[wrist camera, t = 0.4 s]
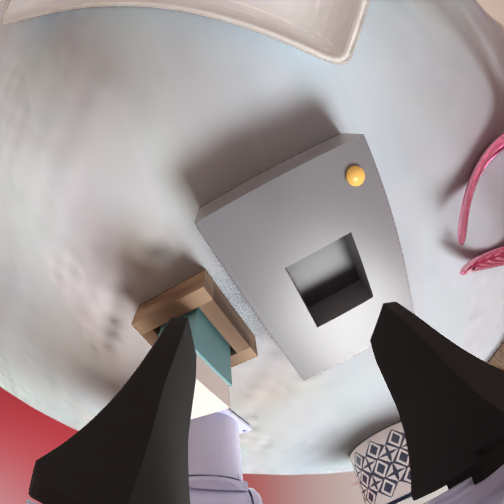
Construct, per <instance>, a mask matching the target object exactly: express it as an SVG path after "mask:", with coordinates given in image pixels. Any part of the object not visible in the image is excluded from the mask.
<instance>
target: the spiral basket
mask: <svg viewBox="0 0 504 504" xmlns="http://www.w3.org/2000/svg"><path fill="white" fill-rule="evenodd" d="M503 150H504V133H503V134H501V135H500V136H499V137H498V138H496V139H495V140H494V141H493V142H492V143H491V144H490V145H489V146H488V148H487V149H486V150H485V151H484V153H483V154H482V156H481V157H480V159H479V160H478V162H477V164H476V166H475V167H474V169H473V172H472V174H471V176H470V178H469V181H468V184H467V187H466V190H465V193H464V197H463V200H462V205H461V210H460V216H459V223H458V242H459V244H460V245H463V244H464V242H465V238H466V233H467V225H468V217H469V211H470V206H471V202H472V198H473V195H474V192H475V189H476V186H477V184H478V182H479V179H480V177H481V176H482V174H483V172H484V171H485V169H486V168H487V166H488V165H489V164H490V162H491V161H492V160H493V159H494V158H495V157H496V156H497V155H498V154H500V153H501V152H502V151H503ZM502 265H504V246H502V247H499V248H496V249H493V250H490V251H488V252H485V253H483V254H481V255H479V256H477V257H475V258H473V259H472V260H470V261H469V262H467V263H466V264H465V265H464V266H463V267H462V268H461V270H460V275H467V274H470V273H473V272H477V271H481V270H485V269H489V268H493V267H498V266H502Z"/></svg>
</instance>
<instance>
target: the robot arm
mask: <svg viewBox="0 0 504 504" xmlns="http://www.w3.org/2000/svg"><path fill="white" fill-rule="evenodd" d="M370 342H371V346H372V349H373V352H374V355H375V359H376V362H377V364H378V366H379V369H380V371H381V373H382V375H383V377H384V380H385V382H386V384H387V386H388V388H389V391H390V393H391V395H392V397H393V400H394V402H395V404H396V407H397V410H398V412H399V415H400V419H401V423H402V426H403V430H404V434H405V439H406V444H407V449H408V456H409V463H410V474H411V495H412V498H413V500H417V499H419V498H421V497H423V496H425V495H428V494H430V493H432V492H434V491H436V490H438V489H440V488H442V487H443V486H445V485H447V486H448V489H449V490H448V491H446V492H444V493H442V494H441V495H439V496H437V497H436V498H434V499H432V500H430V501H428V502H426V503H424V504H504V370H502V369H499V368H497V367H495V366H493V365H490V364H488V363H486V362H484V361H482V360H480V359H479V358H477V357H475V356H473V355H472V354H470V353H468V352H466V351H465V350H463V349H462V348H460V347H459V346H457V345H456V344H454V343H453V342H451V341H450V340H448V339H447V338H446V337H444V336H443V335H441V334H440V333H439V332H437V331H436V330H435V329H433V328H432V327H431V326H429V325H428V324H427V323H425V322H424V321H423V320H421V319H420V318H419V317H417V316H416V315H415V314H413V313H412V312H411V311H409V310H408V309H406V308H405V307H404V306H402V305H401V304H399V303H397V302H389V303H383V305H382V308H381V311H380V314H379V317H378V320H377V323H376V326H375V328H374V331H373V334H372V336H371V339H370ZM196 358H197V355H196V351H195V346H194V342H193V337H192V333H191V328H190V323H189V318H188V317H171V318H170V319H169V321H168V322H167V324H166V326H165V327H164V329H163V331H162V332H161V334H160V336H159V337H158V339H157V340H156V342H155V343H154V345H153V346H152V348H151V349H150V351H149V352H148V354H147V355H146V357H145V358H144V360H143V361H142V363H141V364H140V365H139V367H138V368H137V369H136V371H135V372H134V373H133V375H132V376H131V377H130V379H129V380H128V381H127V383H126V384H125V385H124V386H123V387H122V389H121V390H120V391H119V392H118V393H117V395H116V396H115V397H114V398H113V399H112V400H111V401H110V402H109V403H108V404H107V406H105V407H104V408H103V409H102V410H101V411H100V412H99V413H98V414H97V415H96V416H95V417H94V418H93V419H92V420H91V421H90V422H89V423H88V424H87V425H86V426H84V427H83V428H82V429H81V430H80V431H78V432H77V433H76V434H75V435H73V436H72V437H71V438H70V439H68V440H67V441H66V442H64V443H63V444H62V445H60V446H59V447H57V448H56V449H54V450H52V451H51V452H49V453H48V454H47V455H45V456H43V457H41V458H40V459H38V460H36V463H35V466H34V470H33V474H32V478H31V483H30V488H29V495H30V497H32V498H33V499H35V500H37V501H39V502H41V503H43V504H263V502H262V499H261V497H260V495H259V494H258V493H257V492H256V491H255V490H254V489H253V488H248V482H247V481H243V478H242V477H243V476H242V465H241V454H240V442H239V434H242V433H245V432H248V431H251V430H252V427H251V426H250V425H248V424H247V423H246V422H244V421H243V420H242V419H240V418H239V417H238V416H237V415H235V414H234V413H233V412H232V411H230V410H229V409H225V410H221V411H218V412H215V413H212V414H208V415H205V416H201V417H198V418H194V419H191V412H192V405H193V398H194V390H195V383H196ZM26 504H38V503H36V502H34V501H31V500H29V499H27V501H26Z"/></svg>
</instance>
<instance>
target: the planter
mask: <svg viewBox="0 0 504 504" xmlns="http://www.w3.org/2000/svg"><path fill="white" fill-rule="evenodd" d="M350 459H351V462H352V465H353V468H354V471H355V474H356V477H357V480H358V483H359V486H360V489H361V492H362V495H363V498H364V501H365V504H398V503H400V502H402V501H405V500H406V499H409V498H411V497H412V495H411V474H410V463H409V456H408V449H407V444H406V439H405V434H404V430H403V426H402V423H401V422H398V423H396V424H394V425H391V426H389V427H387V428H385V429H383V430H381V431H379V432H378V433H376V434H374V435H372V436H371V437H369V438H368V439H366V440H365V441H363V442H362V443H361V444H360V445H358V446H357V447H356V448H355V449H354V450H353V452H352V453H351V455H350Z"/></svg>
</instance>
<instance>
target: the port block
mask: <svg viewBox="0 0 504 504" xmlns="http://www.w3.org/2000/svg"><path fill="white" fill-rule="evenodd" d="M195 225H196V227H197V228H198V230H199V231H200V233H201V234H202V236H203V237H204V239H205V240H206V242H207V243H208V245H209V246H210V248H211V249H212V251H213V252H214V254H215V255H216V257H217V258H218V260H219V261H220V263H221V264H222V266H223V267H224V269H225V270H226V272H227V273H228V275H229V276H230V278H231V279H232V281H233V282H234V283H235V285H236V286H237V288H238V289H239V291H240V292H241V294H242V295H243V297H244V298H245V299H246V301H247V302H248V304H249V305H250V307H251V308H252V310H253V311H254V312H255V314H256V315H257V317H258V318H259V320H260V321H261V322H262V324H263V325H264V327H265V328H266V329H267V331H268V332H269V334H270V335H271V336H272V338H273V339H274V341H275V342H276V343H277V345H278V346H279V348H280V349H281V350H282V352H283V353H284V355H285V356H286V357H287V359H288V360H289V361H290V363H291V364H292V366H293V367H294V368H295V370H296V371H297V372H298V374H299V375H300V376H301V378H302V379H303V380H306V379H308V378H310V377H313V376H315V375H317V374H319V373H321V372H323V371H325V370H327V369H329V368H332V367H334V366H336V365H338V364H340V363H341V362H343V361H345V360H347V359H349V358H351V357H353V356H355V355H357V354H359V353H360V352H362V351H364V350H366V349H368V348H369V347H371V342H370V339H371V336H372V334H373V331H374V328H375V326H376V323H377V320H378V317H379V314H380V311H381V308H382V305H383V303H389V302H397V303H399V304H401V305H402V306H404V307H405V308H406V309H408V310H409V311H411V312H412V313H413V314H414V310H413V304H412V297H411V292H410V286H409V281H408V276H407V271H406V267H405V262H404V258H403V253H402V249H401V245H400V241H399V237H398V233H397V230H396V226H395V222H394V219H393V215H392V212H391V209H390V205H389V202H388V199H387V196H386V193H385V190H384V187H383V184H382V181H381V178H380V175H379V172H378V170H377V167H376V164H375V162H374V159H373V156H372V154H371V151H370V149H369V146H368V144H367V141H366V139H365V137H364V134H338V135H336V136H334V137H332V138H330V139H328V140H326V141H324V142H322V143H319V144H317V145H315V146H313V147H311V148H309V149H307V150H305V151H303V152H301V153H299V154H297V155H295V156H293V157H291V158H289V159H287V160H285V161H283V162H281V163H279V164H278V165H276V166H274V167H272V168H270V169H268V170H266V171H264V172H262V173H260V174H259V175H257V176H255V177H253V178H251V179H249V180H248V181H246V182H244V183H242V184H240V185H239V186H237V187H235V188H233V189H231V190H230V191H228V192H226V193H224V194H223V195H221V196H219V197H217V198H216V199H214V200H212V201H210V202H209V203H207V204H205V205H204V206H202V207H200V209H199V212H198V215H197V218H196V220H195Z"/></svg>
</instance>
